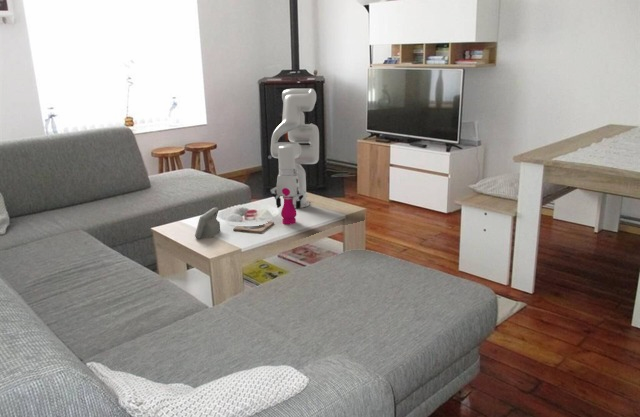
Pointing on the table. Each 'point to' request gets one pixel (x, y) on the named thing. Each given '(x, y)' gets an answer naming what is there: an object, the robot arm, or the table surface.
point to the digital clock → (208, 224)
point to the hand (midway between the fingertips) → (288, 207)
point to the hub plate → (254, 228)
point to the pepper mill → (288, 208)
